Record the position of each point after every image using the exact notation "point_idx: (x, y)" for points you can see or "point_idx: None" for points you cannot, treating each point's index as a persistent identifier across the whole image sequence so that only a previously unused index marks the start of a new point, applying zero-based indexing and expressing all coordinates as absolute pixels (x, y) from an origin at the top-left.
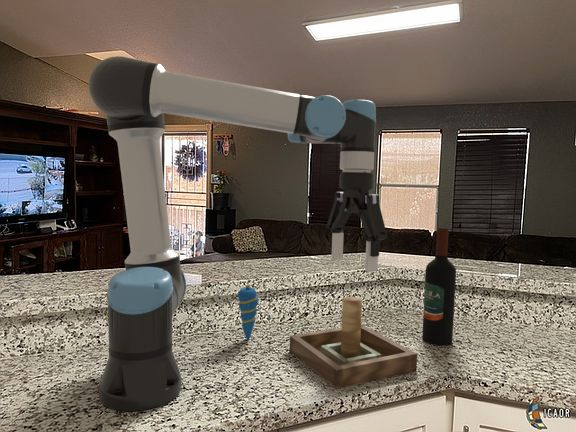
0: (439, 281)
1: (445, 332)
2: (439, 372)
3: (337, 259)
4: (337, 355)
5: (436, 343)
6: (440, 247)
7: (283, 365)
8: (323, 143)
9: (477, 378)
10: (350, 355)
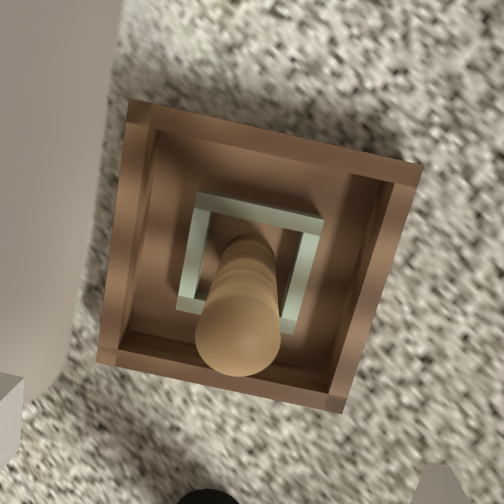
0: None
1: None
2: (81, 373)
3: (416, 495)
4: (240, 207)
5: (188, 496)
6: None
7: (342, 80)
8: None
9: None
10: (228, 246)
